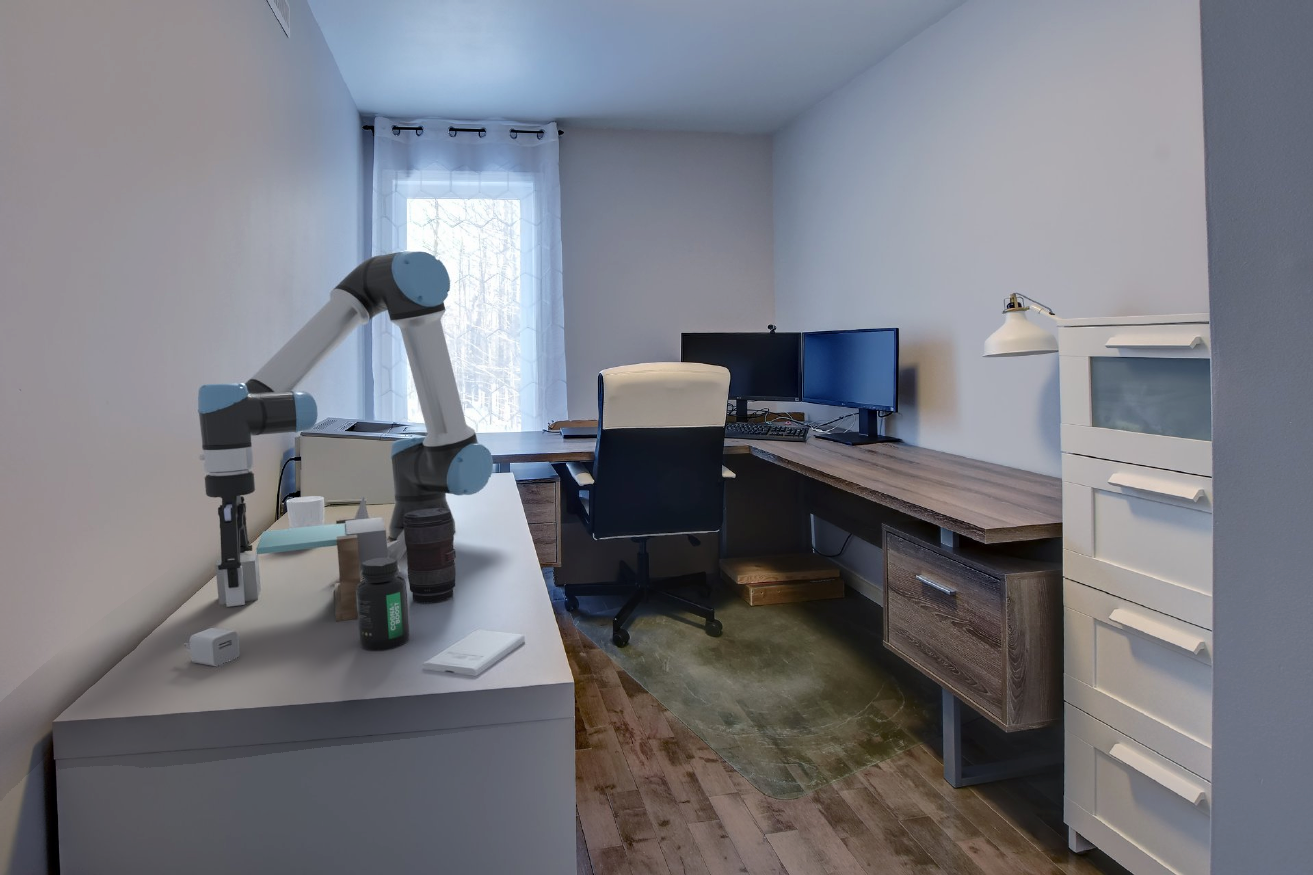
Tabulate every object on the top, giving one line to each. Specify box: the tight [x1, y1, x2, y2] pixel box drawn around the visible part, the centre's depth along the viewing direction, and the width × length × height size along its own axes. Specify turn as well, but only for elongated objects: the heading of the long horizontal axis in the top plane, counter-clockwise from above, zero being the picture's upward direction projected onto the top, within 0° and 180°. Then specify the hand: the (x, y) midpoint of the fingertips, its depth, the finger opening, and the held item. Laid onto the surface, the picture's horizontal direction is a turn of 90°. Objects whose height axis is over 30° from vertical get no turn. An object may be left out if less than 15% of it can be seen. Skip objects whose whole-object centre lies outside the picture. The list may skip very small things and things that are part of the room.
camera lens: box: [404, 508, 457, 604], centre depth 132 cm, size 8×8×15 cm
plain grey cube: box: [215, 552, 262, 606], centre depth 136 cm, size 6×6×7 cm
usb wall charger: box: [183, 627, 240, 667], centre depth 107 cm, size 4×7×4 cm, turn 67°
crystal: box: [354, 496, 407, 580], centre depth 150 cm, size 10×13×15 cm
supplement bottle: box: [356, 557, 410, 651], centre depth 111 cm, size 7×7×12 cm
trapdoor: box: [255, 516, 389, 563], centre depth 129 cm, size 19×13×5 cm
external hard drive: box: [422, 629, 525, 677], centre depth 106 cm, size 2×8×12 cm
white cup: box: [286, 495, 325, 529], centre depth 178 cm, size 8×8×10 cm
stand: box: [334, 516, 364, 622], centre depth 130 cm, size 5×19×13 cm, turn 23°
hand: (239, 596), depth 136 cm, fingers open, 10 cm apart
